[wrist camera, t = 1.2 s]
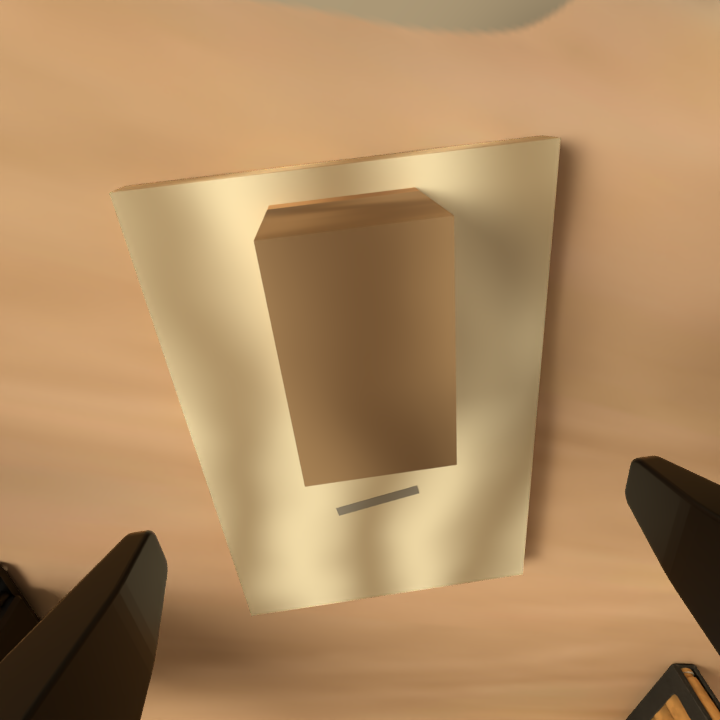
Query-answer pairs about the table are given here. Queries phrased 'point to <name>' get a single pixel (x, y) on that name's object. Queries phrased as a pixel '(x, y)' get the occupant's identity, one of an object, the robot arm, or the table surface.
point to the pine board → (267, 394)
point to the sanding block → (364, 331)
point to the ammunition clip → (679, 697)
